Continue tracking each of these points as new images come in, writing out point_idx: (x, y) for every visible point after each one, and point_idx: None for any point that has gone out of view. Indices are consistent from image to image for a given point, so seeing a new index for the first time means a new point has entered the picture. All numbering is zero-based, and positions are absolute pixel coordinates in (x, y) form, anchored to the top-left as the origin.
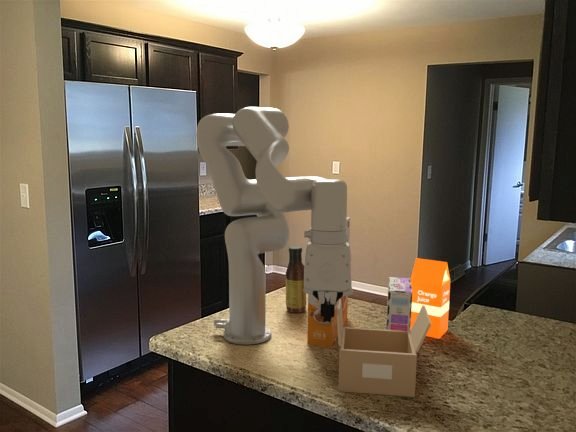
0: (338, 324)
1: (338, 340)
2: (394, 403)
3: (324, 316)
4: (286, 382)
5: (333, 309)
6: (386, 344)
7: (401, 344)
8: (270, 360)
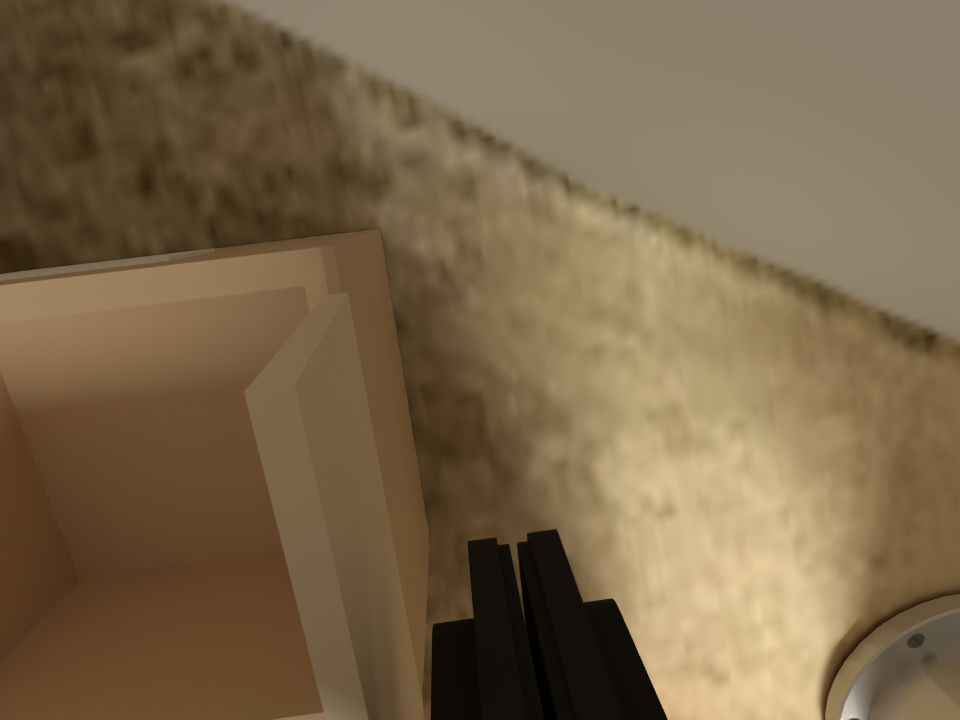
0: (297, 341)
1: (341, 303)
2: (49, 172)
3: (556, 572)
4: (672, 253)
5: (443, 709)
6: (120, 657)
7: (14, 677)
8: (790, 473)
